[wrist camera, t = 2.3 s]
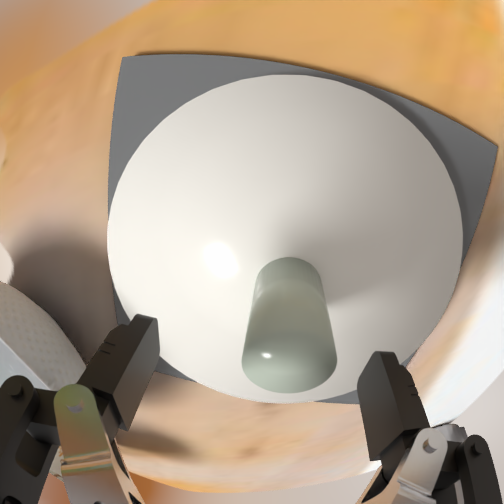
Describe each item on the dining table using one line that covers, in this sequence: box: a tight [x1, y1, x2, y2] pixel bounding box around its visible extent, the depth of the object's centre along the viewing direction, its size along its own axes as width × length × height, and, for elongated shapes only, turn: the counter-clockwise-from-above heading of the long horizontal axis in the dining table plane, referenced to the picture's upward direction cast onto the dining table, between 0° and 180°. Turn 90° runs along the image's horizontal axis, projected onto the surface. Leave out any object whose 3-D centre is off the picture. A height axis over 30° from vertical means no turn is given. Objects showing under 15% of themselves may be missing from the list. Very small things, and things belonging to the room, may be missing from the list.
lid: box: [107, 75, 463, 403], centre depth 11 cm, size 19×19×6 cm
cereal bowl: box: [0, 281, 86, 391], centre depth 17 cm, size 17×17×7 cm
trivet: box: [108, 54, 498, 404], centre depth 14 cm, size 20×20×1 cm
